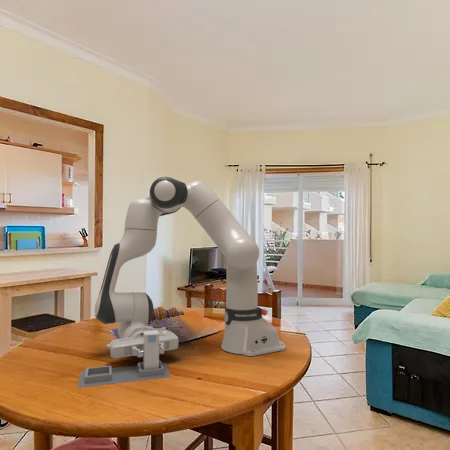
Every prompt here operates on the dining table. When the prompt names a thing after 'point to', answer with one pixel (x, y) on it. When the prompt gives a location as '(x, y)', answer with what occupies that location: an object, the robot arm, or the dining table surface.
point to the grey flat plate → (120, 375)
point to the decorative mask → (165, 313)
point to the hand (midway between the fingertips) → (151, 352)
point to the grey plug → (151, 349)
